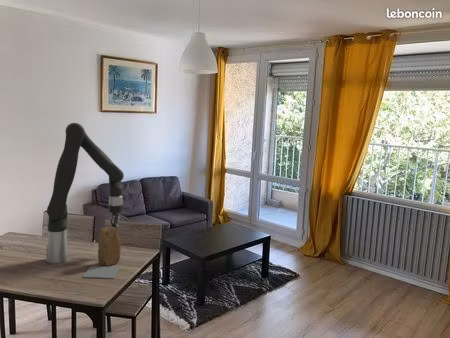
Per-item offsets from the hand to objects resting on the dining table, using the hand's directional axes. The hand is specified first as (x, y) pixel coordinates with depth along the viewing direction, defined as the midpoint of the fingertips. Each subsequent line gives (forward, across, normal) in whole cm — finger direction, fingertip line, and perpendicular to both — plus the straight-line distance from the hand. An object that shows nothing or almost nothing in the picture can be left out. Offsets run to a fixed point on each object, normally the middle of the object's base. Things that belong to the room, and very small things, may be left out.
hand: (115, 233), depth 213 cm
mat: (+13, +24, 0) cm, 28 cm away
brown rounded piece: (+13, +12, 0) cm, 18 cm away
